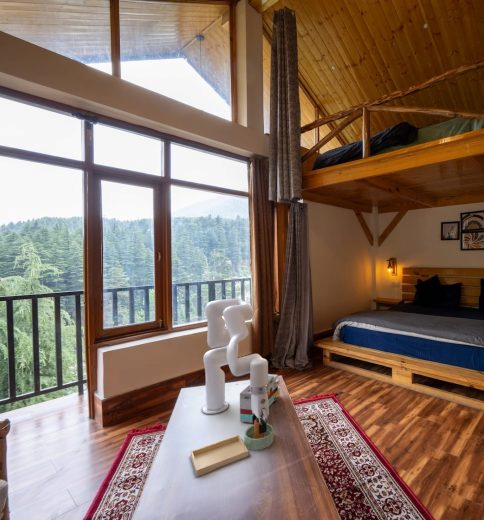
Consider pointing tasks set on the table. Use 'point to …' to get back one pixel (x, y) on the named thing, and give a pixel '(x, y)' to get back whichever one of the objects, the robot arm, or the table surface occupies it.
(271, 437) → the bowl
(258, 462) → the table surface
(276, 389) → the multicoloured piece
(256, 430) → the bottle
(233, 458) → the tray
